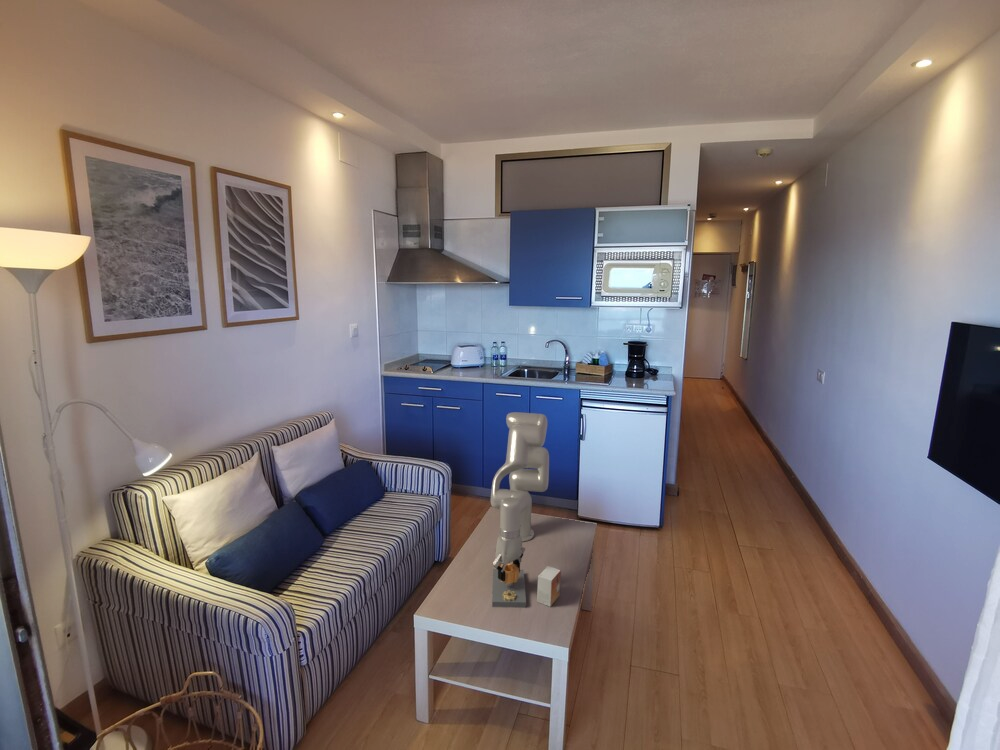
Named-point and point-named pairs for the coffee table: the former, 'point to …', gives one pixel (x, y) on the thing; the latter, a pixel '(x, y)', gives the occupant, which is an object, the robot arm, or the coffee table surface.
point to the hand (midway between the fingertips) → (508, 575)
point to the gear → (511, 573)
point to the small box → (548, 586)
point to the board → (508, 592)
